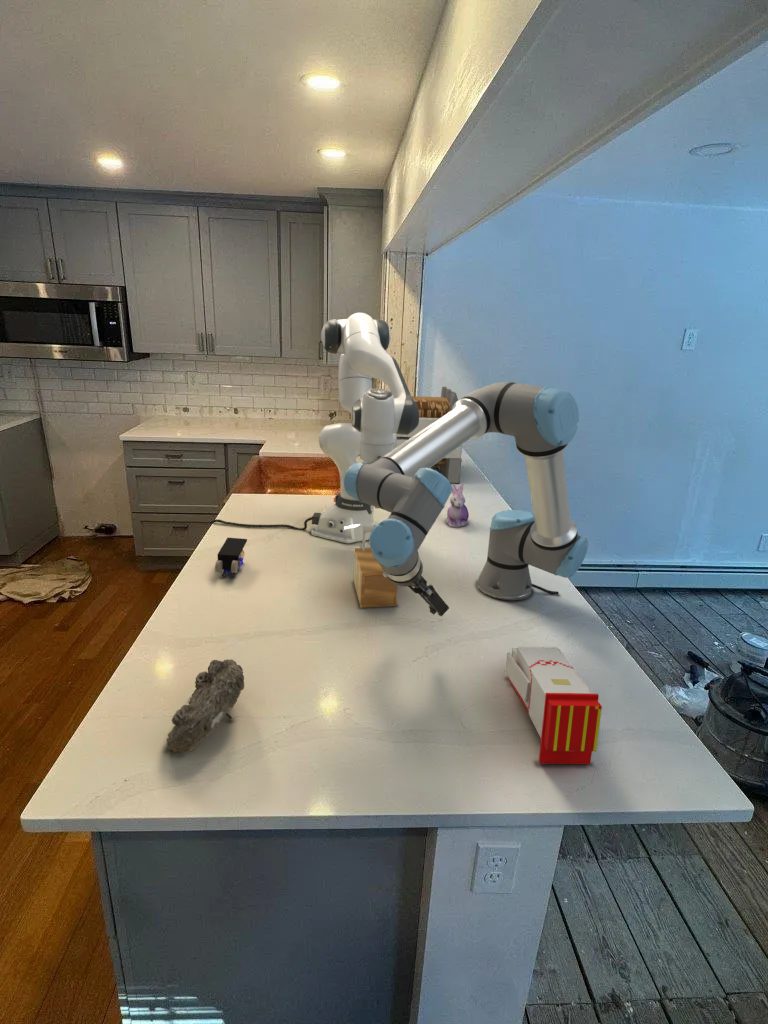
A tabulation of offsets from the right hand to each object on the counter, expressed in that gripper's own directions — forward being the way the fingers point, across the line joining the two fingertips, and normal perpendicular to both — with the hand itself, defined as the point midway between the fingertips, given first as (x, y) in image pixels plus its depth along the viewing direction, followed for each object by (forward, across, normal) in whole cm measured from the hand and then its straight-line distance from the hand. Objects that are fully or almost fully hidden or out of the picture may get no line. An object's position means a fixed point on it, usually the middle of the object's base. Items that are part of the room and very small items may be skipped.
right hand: (414, 589), depth 129 cm
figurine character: (+27, -51, -29) cm, 65 cm away
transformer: (+122, -68, +56) cm, 151 cm away
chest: (+26, -14, -6) cm, 30 cm away
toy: (-2, +37, -2) cm, 37 cm away
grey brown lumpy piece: (-18, -8, -46) cm, 50 cm away
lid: (+21, -18, +1) cm, 28 cm away
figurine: (+75, -24, +37) cm, 87 cm away
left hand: (+14, -28, +12) cm, 34 cm away
